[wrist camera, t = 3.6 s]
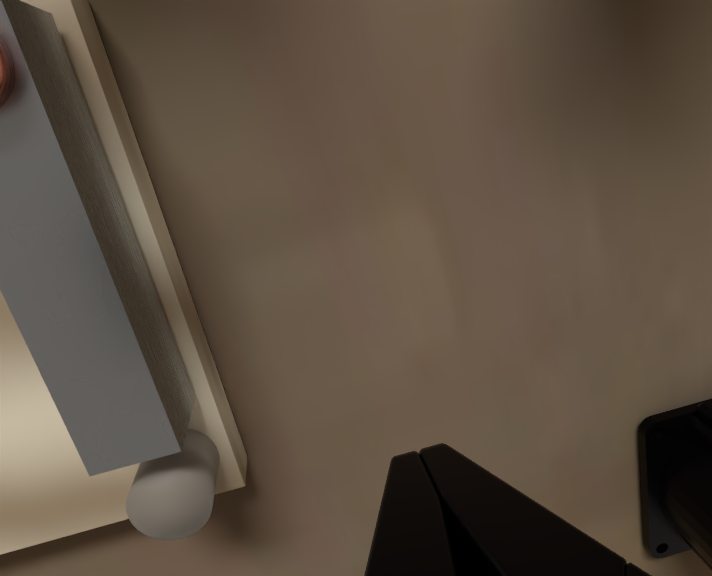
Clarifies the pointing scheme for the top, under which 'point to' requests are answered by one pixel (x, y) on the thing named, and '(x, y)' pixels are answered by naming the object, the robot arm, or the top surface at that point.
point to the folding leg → (79, 262)
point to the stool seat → (211, 408)
